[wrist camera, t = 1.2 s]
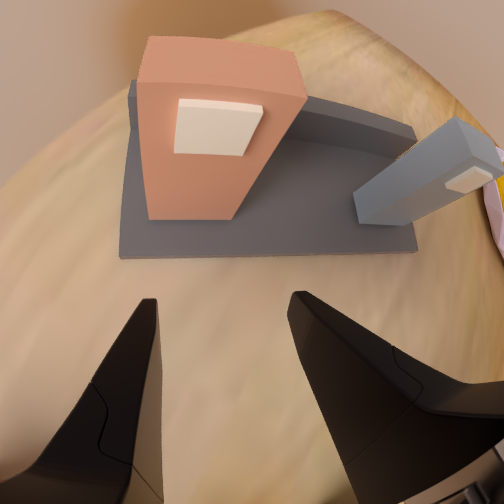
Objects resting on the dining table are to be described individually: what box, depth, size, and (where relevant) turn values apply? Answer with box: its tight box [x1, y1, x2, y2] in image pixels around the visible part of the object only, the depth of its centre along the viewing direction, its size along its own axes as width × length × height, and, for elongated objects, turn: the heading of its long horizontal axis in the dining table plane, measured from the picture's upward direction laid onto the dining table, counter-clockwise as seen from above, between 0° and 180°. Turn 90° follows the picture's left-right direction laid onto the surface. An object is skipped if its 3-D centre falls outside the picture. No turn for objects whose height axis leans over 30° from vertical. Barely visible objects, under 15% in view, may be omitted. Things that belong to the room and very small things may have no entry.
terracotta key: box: [136, 36, 308, 220], centre depth 15 cm, size 3×6×13 cm, turn 94°
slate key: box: [353, 116, 504, 226], centre depth 20 cm, size 3×6×13 cm, turn 94°
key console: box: [119, 80, 418, 259], centre depth 23 cm, size 13×28×5 cm, turn 94°
